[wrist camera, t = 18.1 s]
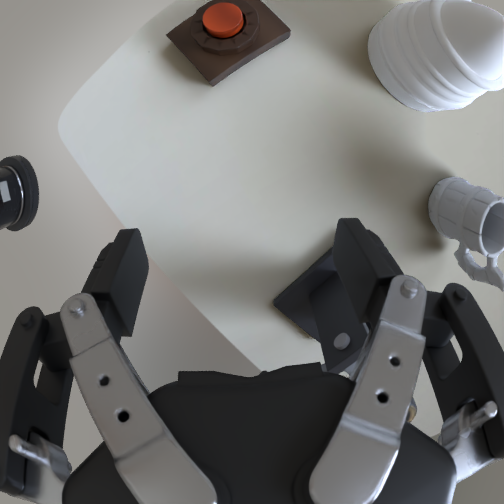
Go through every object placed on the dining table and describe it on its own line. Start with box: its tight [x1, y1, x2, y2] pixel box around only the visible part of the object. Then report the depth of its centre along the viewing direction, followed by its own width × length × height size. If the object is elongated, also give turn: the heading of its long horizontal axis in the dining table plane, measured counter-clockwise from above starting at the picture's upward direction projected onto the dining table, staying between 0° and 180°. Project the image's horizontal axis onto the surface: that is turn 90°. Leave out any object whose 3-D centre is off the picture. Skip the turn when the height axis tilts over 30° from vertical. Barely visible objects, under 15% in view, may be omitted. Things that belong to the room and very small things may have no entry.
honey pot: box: [367, 0, 504, 112], centre depth 14 cm, size 13×13×18 cm
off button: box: [203, 3, 243, 38], centre depth 19 cm, size 4×4×2 cm
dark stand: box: [273, 247, 371, 376], centre depth 27 cm, size 12×9×14 cm
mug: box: [428, 177, 504, 292], centre depth 23 cm, size 8×12×12 cm, turn 19°
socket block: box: [166, 0, 291, 86], centre depth 21 cm, size 10×8×4 cm
